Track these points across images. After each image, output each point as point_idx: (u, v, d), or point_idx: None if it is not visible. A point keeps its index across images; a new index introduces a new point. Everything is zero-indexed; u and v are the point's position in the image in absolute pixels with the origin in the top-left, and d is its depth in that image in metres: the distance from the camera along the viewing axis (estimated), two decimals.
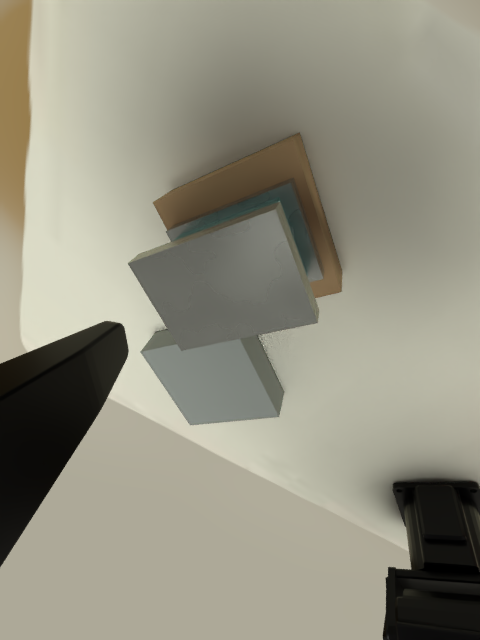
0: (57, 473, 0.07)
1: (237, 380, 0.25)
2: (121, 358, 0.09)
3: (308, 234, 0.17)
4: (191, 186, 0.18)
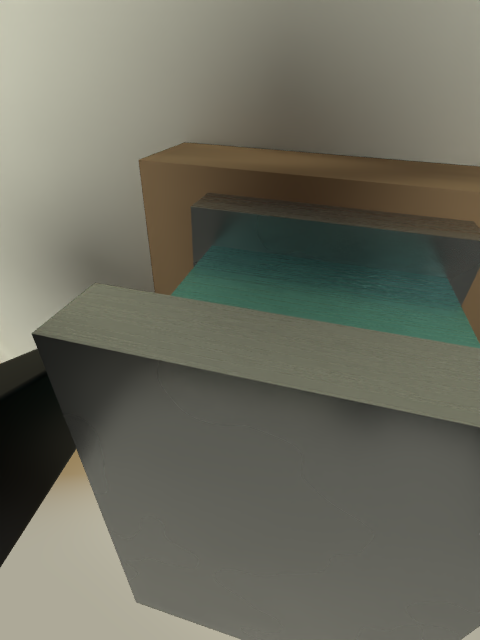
0: (57, 473, 0.07)
1: None
2: None
3: (333, 222, 0.06)
4: None
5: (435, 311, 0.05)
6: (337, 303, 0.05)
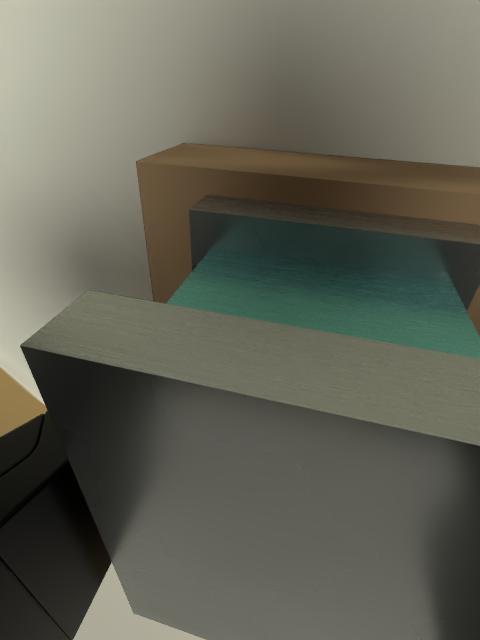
0: None
1: None
2: None
3: (335, 225, 0.06)
4: None
5: (440, 318, 0.05)
6: (339, 309, 0.05)
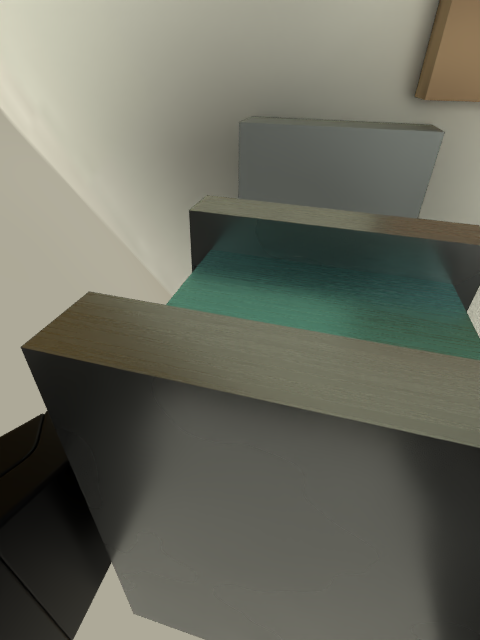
0: None
1: None
2: None
3: (335, 226, 0.06)
4: None
5: (441, 319, 0.05)
6: (340, 310, 0.05)
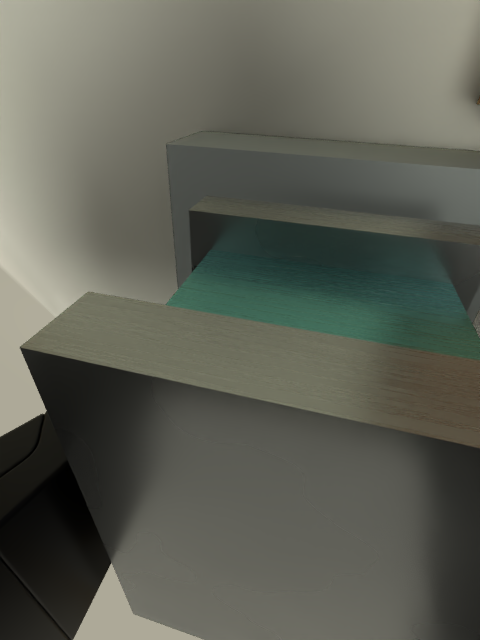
0: None
1: None
2: None
3: (335, 226, 0.06)
4: None
5: (441, 319, 0.05)
6: (339, 310, 0.05)
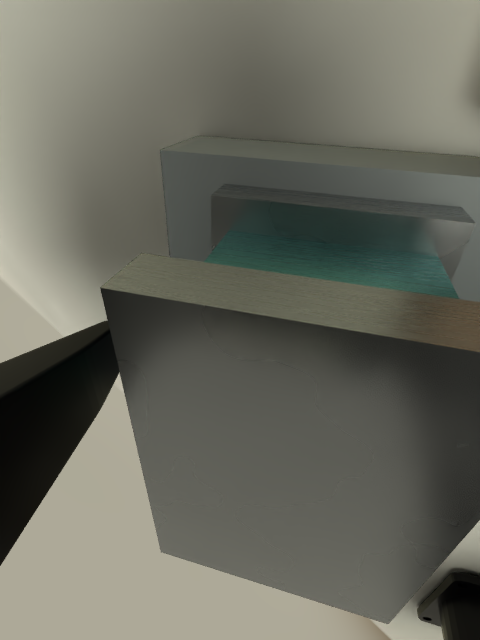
0: (56, 473, 0.07)
1: None
2: None
3: (337, 207, 0.07)
4: None
5: (426, 282, 0.06)
6: (342, 276, 0.06)
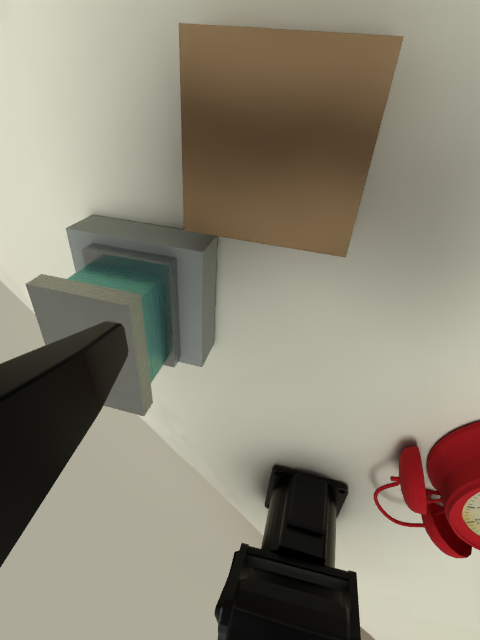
0: (58, 473, 0.07)
1: None
2: (121, 358, 0.09)
3: (126, 257, 0.18)
4: (243, 29, 0.13)
5: (144, 285, 0.17)
6: (116, 282, 0.17)
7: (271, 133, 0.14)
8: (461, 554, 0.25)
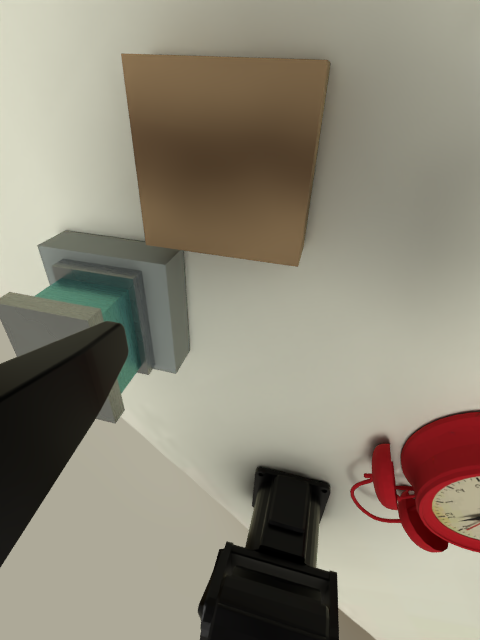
0: (58, 473, 0.07)
1: None
2: (121, 358, 0.09)
3: (93, 271, 0.19)
4: (180, 57, 0.13)
5: (109, 299, 0.18)
6: (83, 297, 0.18)
7: (216, 152, 0.15)
8: (438, 548, 0.26)
